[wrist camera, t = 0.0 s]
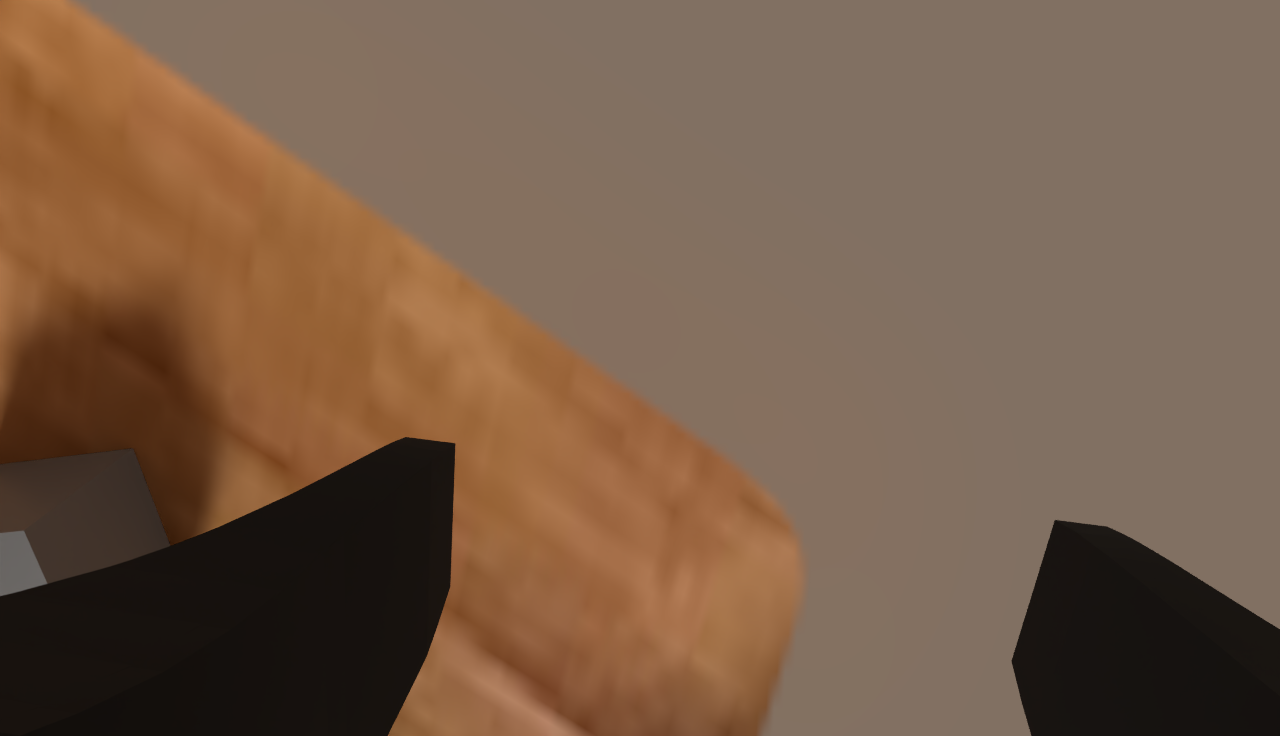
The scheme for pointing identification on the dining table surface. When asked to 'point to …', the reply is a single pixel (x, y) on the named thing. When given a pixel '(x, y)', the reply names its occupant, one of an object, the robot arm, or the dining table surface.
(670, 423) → the dining table surface
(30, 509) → the grey cube
